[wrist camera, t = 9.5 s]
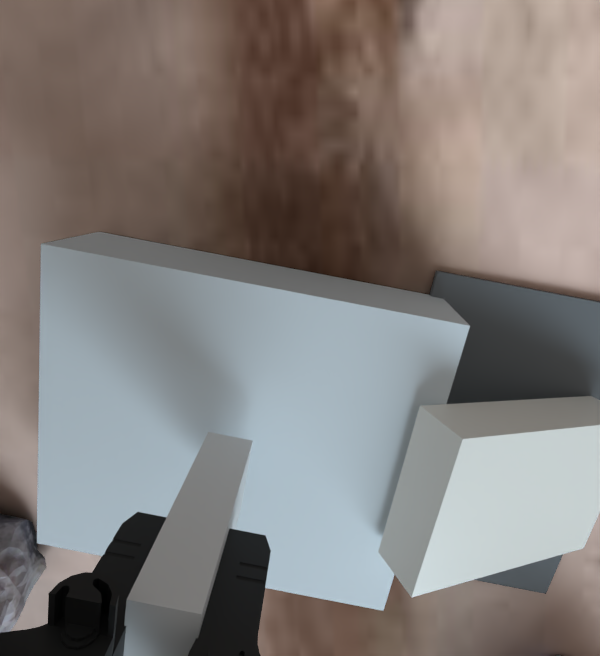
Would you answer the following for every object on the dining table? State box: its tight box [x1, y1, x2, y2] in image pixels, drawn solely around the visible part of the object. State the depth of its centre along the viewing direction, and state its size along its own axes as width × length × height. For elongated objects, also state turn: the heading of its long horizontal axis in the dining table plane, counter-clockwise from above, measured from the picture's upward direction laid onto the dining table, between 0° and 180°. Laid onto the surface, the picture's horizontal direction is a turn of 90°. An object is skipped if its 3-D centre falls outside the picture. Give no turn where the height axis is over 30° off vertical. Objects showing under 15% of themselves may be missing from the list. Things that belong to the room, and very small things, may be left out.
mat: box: [430, 270, 600, 594], centre depth 20 cm, size 9×14×1 cm, turn 170°
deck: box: [37, 232, 470, 611], centre depth 19 cm, size 14×12×4 cm
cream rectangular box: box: [378, 396, 600, 597], centre depth 17 cm, size 9×6×2 cm, turn 79°
